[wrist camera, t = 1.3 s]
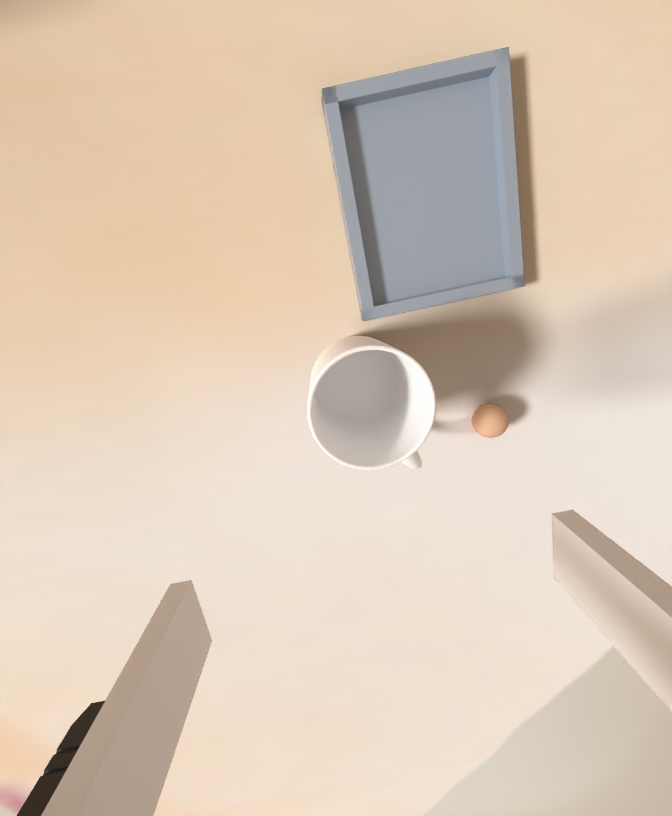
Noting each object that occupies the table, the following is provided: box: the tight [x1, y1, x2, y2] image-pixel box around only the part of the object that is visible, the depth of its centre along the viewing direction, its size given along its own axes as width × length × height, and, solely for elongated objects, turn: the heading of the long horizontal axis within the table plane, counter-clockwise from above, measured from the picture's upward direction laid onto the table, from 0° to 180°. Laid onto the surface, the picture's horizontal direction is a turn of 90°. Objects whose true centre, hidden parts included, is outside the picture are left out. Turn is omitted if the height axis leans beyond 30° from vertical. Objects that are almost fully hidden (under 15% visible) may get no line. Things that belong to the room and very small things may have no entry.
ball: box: [472, 404, 509, 438], centre depth 34 cm, size 3×3×3 cm
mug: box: [307, 336, 436, 470], centre depth 29 cm, size 9×12×11 cm
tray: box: [322, 47, 524, 321], centre depth 29 cm, size 17×14×2 cm
